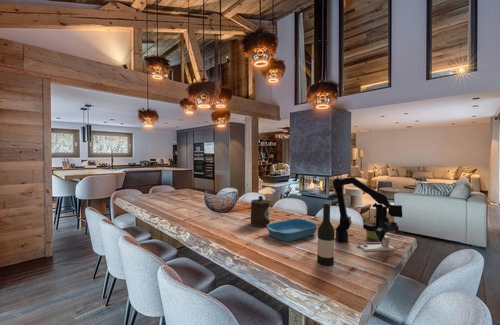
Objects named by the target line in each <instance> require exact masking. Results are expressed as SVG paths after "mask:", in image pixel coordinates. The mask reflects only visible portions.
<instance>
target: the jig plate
mask: <svg viewBox="0 0 500 325" xmlns="http://www.w3.org/2000/svg"><path fill="white" fill-rule="evenodd" d="M356 245H357V247H358V248H360V249H361V250H363V251H364V252H379V251H383V252H384V251H395V250H396V247H393V245H390V246H384V245H382V244H381V242H379V241H371V242H370V241H369V242H358V243H357V244H356Z"/></svg>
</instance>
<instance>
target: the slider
mask: <svg viewBox="0 0 500 325" xmlns="http://www.w3.org/2000/svg"><path fill="white" fill-rule="evenodd" d="M390 239H391V237H390V236H388V235H385V236H384V238H383V240H382V242H381V244H382V245H384V246H391V245H390V244H391V241H390Z"/></svg>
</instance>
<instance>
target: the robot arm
mask: <svg viewBox="0 0 500 325" xmlns="http://www.w3.org/2000/svg"><path fill="white" fill-rule="evenodd" d="M351 184H352V185H353V186H354V187H357V189H360V190H361V191H363V193H366V194H367V195H369V196H370V197H371V199H373V200H374V201H375V202H374V203H373V204H372V205H371V206H372V208H375V215H373V218H375V221H374V222H373V223H374V225H372V224H365V223H364V224H363V227H362V229H363V230H365V231H366V230H368V231H375V233H376V235H377V237H378V238H377V239H378V242H382V240H383V238H384V236H386V234H387V233H389V232H394V231H395V232H396V231H399V228H400V227H399V225H398V223H397V222H396V221H390V220H389V217H388V215H389V216H390V217H393V218H401V219H402V218H403V206H402V205H401V204H397V205H396V204H391V202H390V201H389V200H388V195H386V194H385V193H383V192H382V191H379V190H376V189H373V188H371V187H370V186H369V185H367V184H365V183H364V182H362V181H360V180H358V179H357V178H356V177H355V176H351V177H345V178H342V177H337V178H335V179H333V181H332V186H333V188H334V191H335V192H336V193H335V194H336V199H337V204H338V210H339V224H337V226H336V228H335V237H334V241H337V242H338V243H350V241H349V232H348V230H349V229H350V227H351V225H352V223H353V222H352V217H351V216H349V215H348V212H347V206H346V199H345V195H344V191H345V190H344V188H345V186H347V185H351Z"/></svg>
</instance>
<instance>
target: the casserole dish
mask: <svg viewBox="0 0 500 325" xmlns="http://www.w3.org/2000/svg"><path fill="white" fill-rule="evenodd" d="M266 228H267V231H268V234H269V235H270V236H271V237H273V238H274V239H276V240H278V241H282V242H293V241H296V240H301V239H304V238H308V237H311V236H313V235H314V234H316V231H317V230H318V224H317V223H315V222H314V221H312V220H309V219H302V218H291V219H287V220H280V221H276V222H270V224H268V225H267V227H266Z"/></svg>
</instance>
